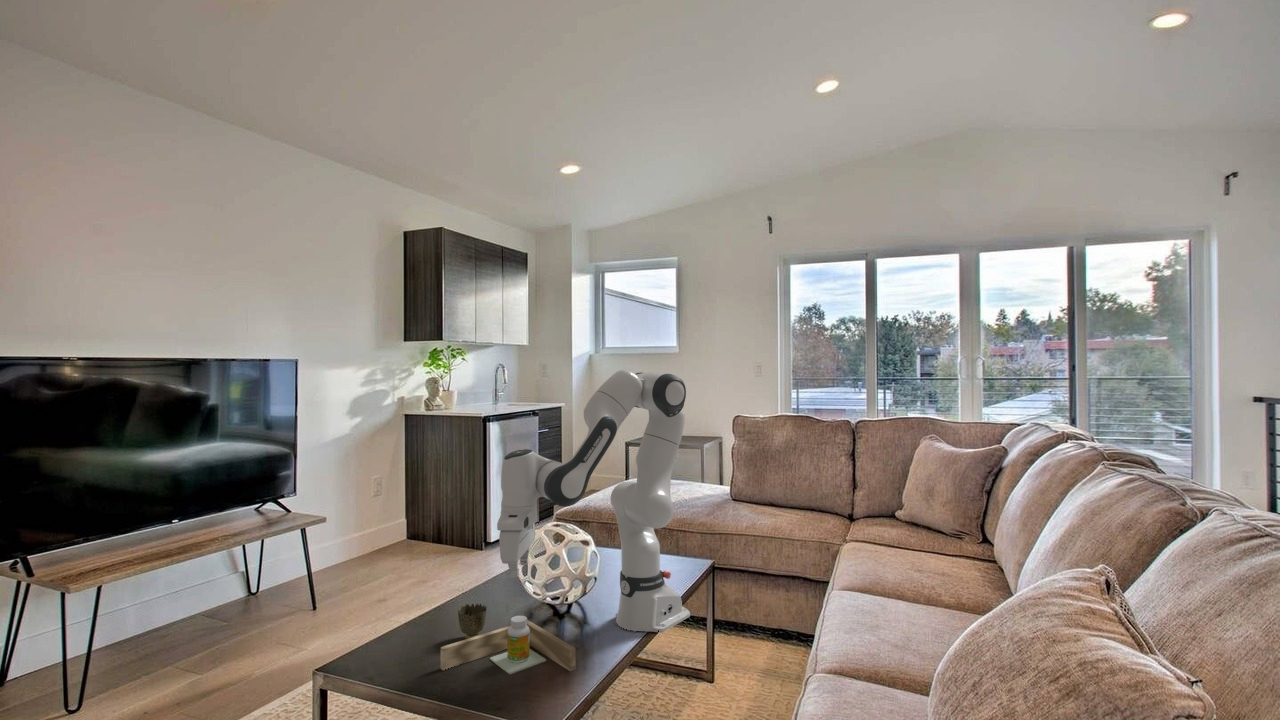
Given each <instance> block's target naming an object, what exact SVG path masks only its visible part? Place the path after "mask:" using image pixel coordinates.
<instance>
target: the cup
mask: <svg viewBox="0 0 1280 720" xmlns="http://www.w3.org/2000/svg"><path fill="white" fill-rule="evenodd" d="M457 609H458V608H457ZM486 614H487V606H485V604H483V605H482V603H480V604H479V603H476V604H475V605H474V603H472V604H471V605H469V604H468V603H467V604H465V605H464V606H463V605H461V607H460V609H458V610H457V615H458V624H459V625H458V626H459V629H460V631H461V632H462V634H464V638H465V639H469V638H472V637H475V636H478V635H480V633H481V631H483V629H484V627H485V622H486V617H487V615H486Z"/></svg>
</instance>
